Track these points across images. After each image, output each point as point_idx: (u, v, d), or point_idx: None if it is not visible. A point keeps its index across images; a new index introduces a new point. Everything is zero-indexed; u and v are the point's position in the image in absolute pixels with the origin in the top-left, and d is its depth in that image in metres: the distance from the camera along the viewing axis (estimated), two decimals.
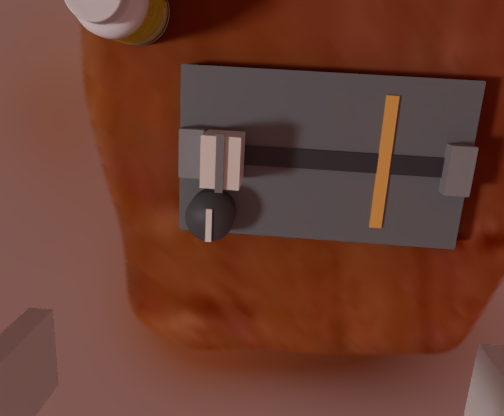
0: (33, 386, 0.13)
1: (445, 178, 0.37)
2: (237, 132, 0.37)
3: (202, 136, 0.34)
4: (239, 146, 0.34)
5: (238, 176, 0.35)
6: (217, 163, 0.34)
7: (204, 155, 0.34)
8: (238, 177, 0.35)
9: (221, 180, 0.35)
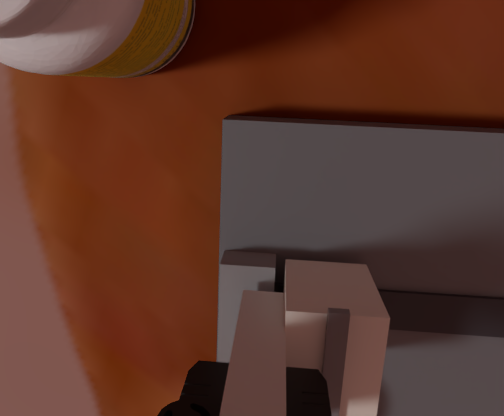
0: None
1: None
2: (354, 274, 0.16)
3: (290, 313, 0.13)
4: (383, 337, 0.13)
5: (375, 402, 0.14)
6: (326, 380, 0.14)
7: (293, 356, 0.14)
8: (375, 404, 0.14)
9: (334, 414, 0.14)
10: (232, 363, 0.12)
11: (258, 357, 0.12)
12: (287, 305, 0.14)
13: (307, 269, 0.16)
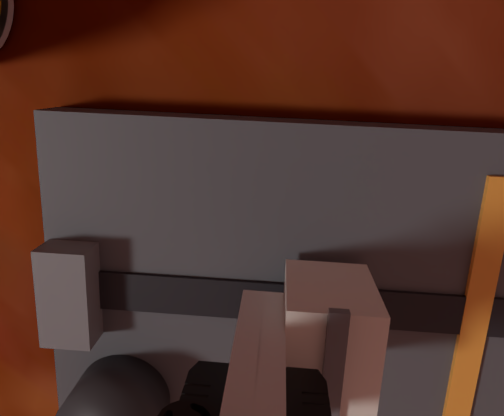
0: None
1: None
2: (355, 274, 0.16)
3: (290, 313, 0.13)
4: (384, 337, 0.13)
5: (376, 402, 0.14)
6: (327, 380, 0.14)
7: (293, 356, 0.14)
8: (375, 404, 0.14)
9: (335, 414, 0.14)
10: (232, 363, 0.12)
11: (258, 357, 0.12)
12: (287, 305, 0.14)
13: (307, 269, 0.16)
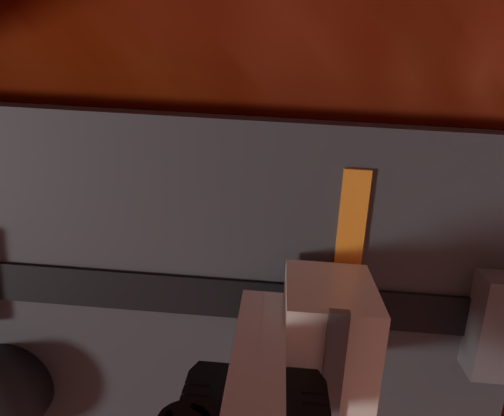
0: None
1: (474, 345, 0.17)
2: (355, 274, 0.16)
3: (291, 314, 0.13)
4: (384, 338, 0.14)
5: (375, 403, 0.14)
6: (327, 380, 0.14)
7: (293, 356, 0.14)
8: (375, 405, 0.14)
9: (334, 414, 0.14)
10: (232, 363, 0.12)
11: (258, 357, 0.12)
12: (288, 305, 0.14)
13: (308, 269, 0.16)
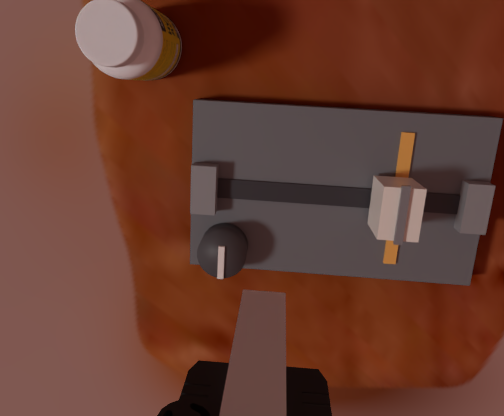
0: None
1: (461, 215, 0.36)
2: (407, 180, 0.36)
3: (385, 187, 0.33)
4: (423, 198, 0.33)
5: (419, 228, 0.34)
6: (400, 215, 0.33)
7: (385, 207, 0.33)
8: (419, 229, 0.34)
9: (402, 232, 0.33)
10: (232, 363, 0.12)
11: (258, 357, 0.12)
12: (383, 185, 0.33)
13: (385, 178, 0.36)
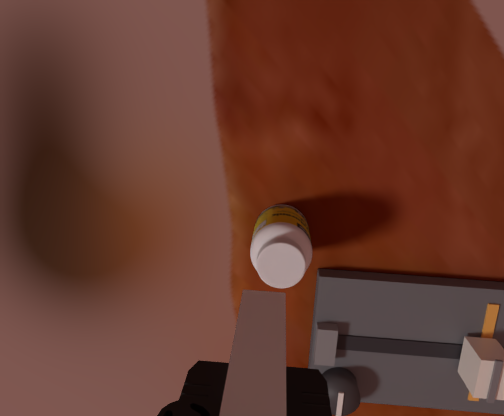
0: None
1: None
2: (494, 343, 0.44)
3: (482, 361, 0.42)
4: None
5: None
6: (493, 382, 0.42)
7: (481, 374, 0.42)
8: None
9: (494, 393, 0.42)
10: (232, 363, 0.12)
11: (258, 357, 0.12)
12: (480, 358, 0.42)
13: (475, 341, 0.45)
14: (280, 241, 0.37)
